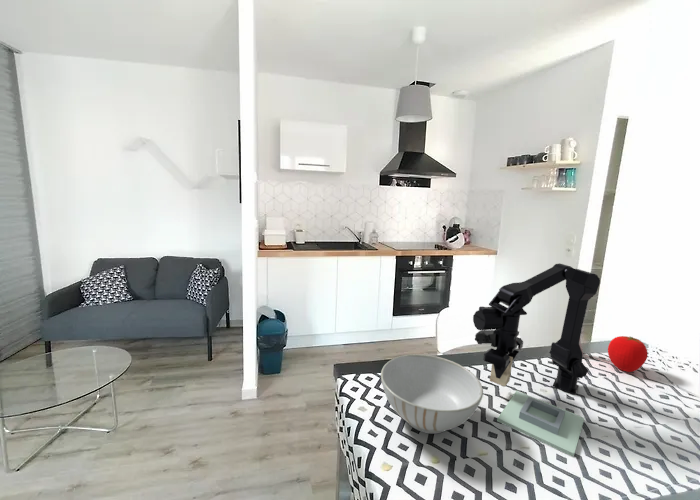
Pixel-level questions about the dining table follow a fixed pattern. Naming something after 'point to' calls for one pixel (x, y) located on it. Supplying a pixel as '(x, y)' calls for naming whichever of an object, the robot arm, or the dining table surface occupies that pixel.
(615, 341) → the tomato
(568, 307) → the robot arm
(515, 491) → the dining table surface
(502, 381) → the birch peg
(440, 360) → the decorative bowl
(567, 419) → the socket board
